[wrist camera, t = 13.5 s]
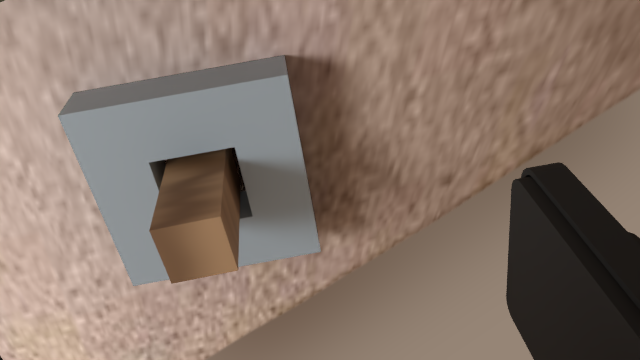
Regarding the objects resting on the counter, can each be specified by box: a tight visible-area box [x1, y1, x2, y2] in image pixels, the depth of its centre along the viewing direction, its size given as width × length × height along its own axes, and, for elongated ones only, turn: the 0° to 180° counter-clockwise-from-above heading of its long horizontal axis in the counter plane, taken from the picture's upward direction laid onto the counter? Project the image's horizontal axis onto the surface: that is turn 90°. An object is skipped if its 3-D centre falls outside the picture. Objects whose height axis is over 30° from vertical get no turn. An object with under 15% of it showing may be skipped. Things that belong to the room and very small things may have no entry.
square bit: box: [149, 148, 241, 283], centre depth 36 cm, size 4×4×10 cm
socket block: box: [58, 55, 321, 286], centre depth 39 cm, size 14×14×4 cm
